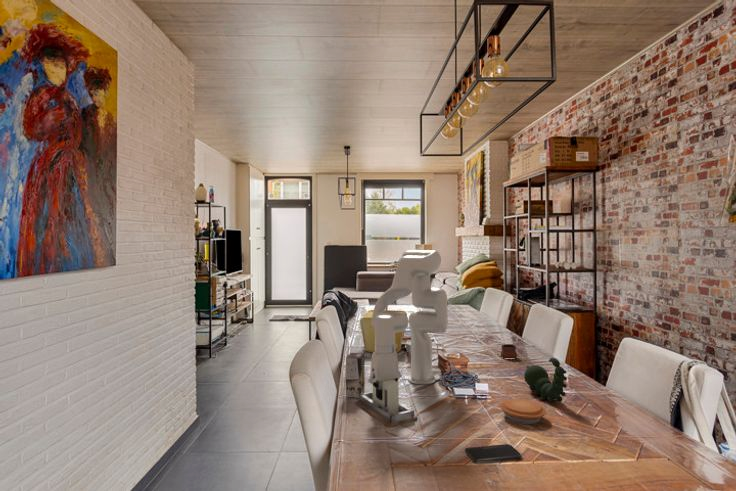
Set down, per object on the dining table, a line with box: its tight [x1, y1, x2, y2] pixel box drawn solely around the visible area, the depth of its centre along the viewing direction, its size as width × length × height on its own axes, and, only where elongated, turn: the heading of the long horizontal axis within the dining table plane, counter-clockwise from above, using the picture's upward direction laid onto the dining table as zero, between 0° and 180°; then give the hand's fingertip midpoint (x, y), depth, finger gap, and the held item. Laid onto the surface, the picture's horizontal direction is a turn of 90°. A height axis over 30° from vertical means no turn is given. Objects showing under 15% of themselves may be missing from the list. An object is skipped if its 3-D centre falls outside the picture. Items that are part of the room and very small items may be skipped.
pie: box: [499, 398, 547, 425], centre depth 150 cm, size 16×16×5 cm
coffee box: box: [345, 352, 366, 399], centre depth 175 cm, size 9×6×16 cm
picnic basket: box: [359, 305, 408, 354], centre depth 252 cm, size 29×26×30 cm
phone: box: [464, 443, 523, 464], centre depth 124 cm, size 8×1×15 cm
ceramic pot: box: [500, 343, 518, 359], centre depth 229 cm, size 18×18×7 cm
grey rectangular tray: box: [355, 390, 418, 428], centre depth 156 cm, size 12×24×4 cm, turn 29°
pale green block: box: [372, 378, 400, 414], centre depth 156 cm, size 4×12×11 cm, turn 29°
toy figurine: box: [523, 357, 568, 403], centre depth 171 cm, size 9×19×25 cm
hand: (385, 397), depth 156 cm, fingers open, 4 cm apart
